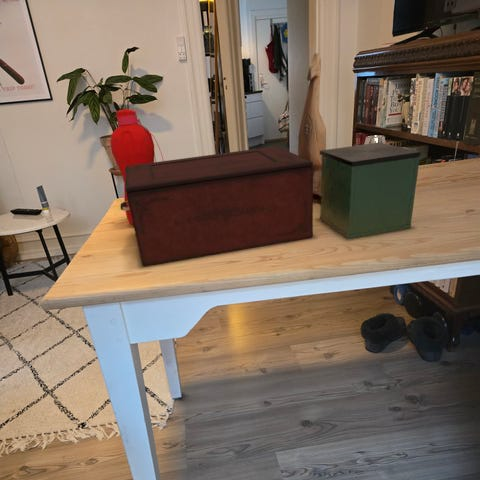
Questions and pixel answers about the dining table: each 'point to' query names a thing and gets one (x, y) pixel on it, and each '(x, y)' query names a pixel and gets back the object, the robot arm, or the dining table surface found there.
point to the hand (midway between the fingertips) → (440, 8)
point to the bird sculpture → (313, 126)
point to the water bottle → (131, 145)
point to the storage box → (219, 203)
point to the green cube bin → (368, 196)
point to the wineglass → (375, 139)
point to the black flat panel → (368, 154)
